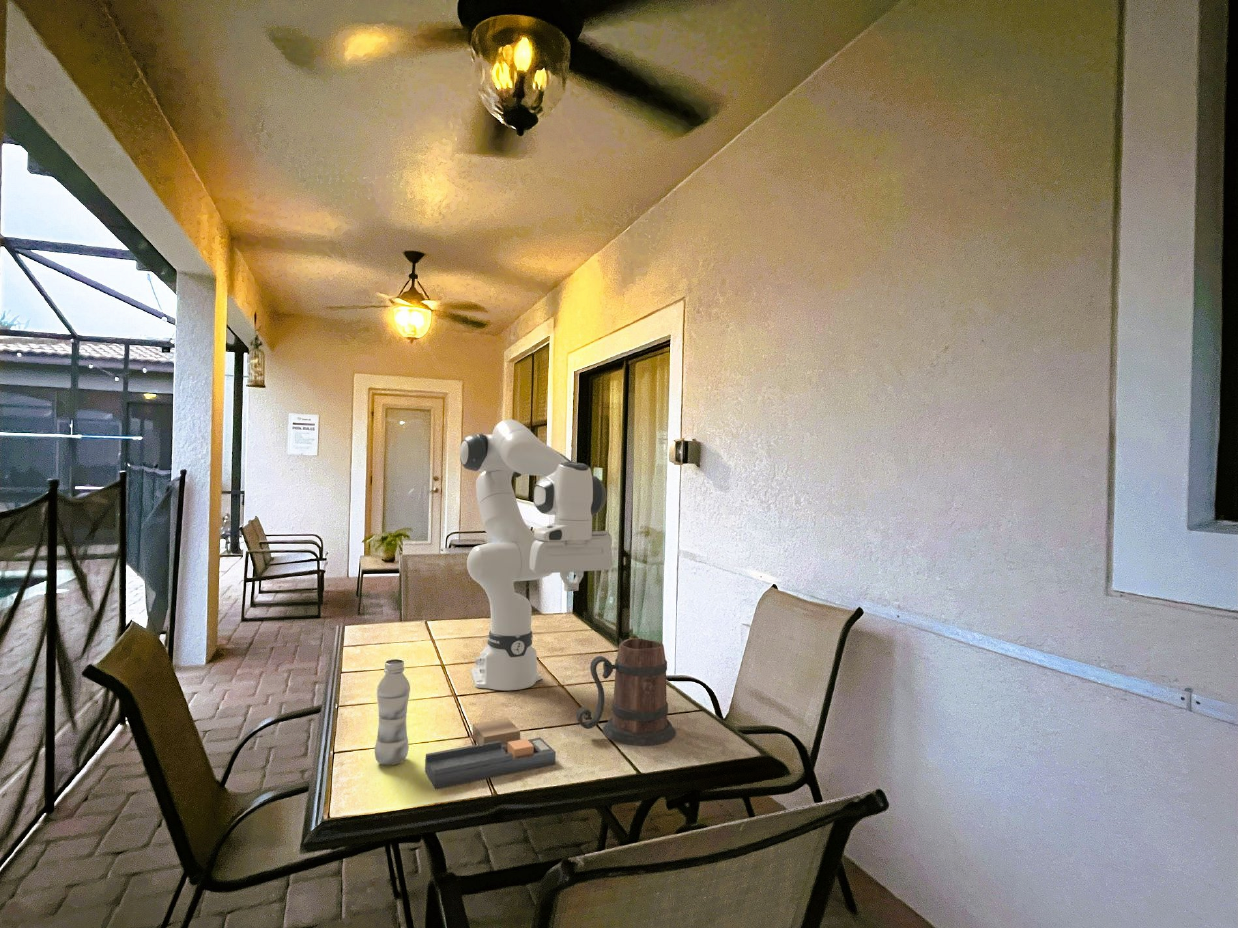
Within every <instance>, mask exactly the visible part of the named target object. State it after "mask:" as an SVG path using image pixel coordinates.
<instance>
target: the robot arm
mask: <svg viewBox="0 0 1238 928" xmlns="http://www.w3.org/2000/svg"><path fill="white" fill-rule="evenodd" d="M459 446H460V447H459V453H458V454H459V460H460V464H461V465H462V466H463V468H465V470H469V471H473V472H478V471H479V472H481V473H480V474H479V475H478V477H477V478H476V481H475V492H476V493H475V494H476V501H477V505H478V506H477V507H478V510H479V514H480V518H481V522H482V527H483V530H484V531H485V533H486V534H487V535H488V536H489V537H491V538H493V539H494V540H497V541H498V542H497V541H495V542H494V541H492V542H488V543H484V544H479V545H476V546H474V547H472V549H471V550H470V552H468V553H469V554H468V555H467V559H466V569H467V571H468V575H469V576H470V577H471V579H472V580H473V581H474V582H476V583H477V584H479V585H480V587H481V588H482V589H483V590H484V592H485V594H486V596H487V598H488V601H489V608H490V630H489V633H488V636H487V645H486V646H485V647H484V649H483V650H481V651H480V653H479V656H476V657H475V667H473V668H471V670H470V674H471V676H472V679H473V682H474V685H475V687H476V688H478V689H479V688H481V689H491V690H496V691H517V690H524V689H527V688H530V687H533V685H535V684H536V682H538V681H539V680H540V681H541V680H542V675H541V674H540V673H539V672H538V660H537V658H538V657H537V650H536V649H535V648H534V647H533V637H534V636H533V631H532V611H533V609H532V604H531V602H530V600H529V599H528V598H527V597H526V596H524V595H522V594H520V593H517V592H516V591H515V588H514V587H515V584H514V583H516V582H522V581H524V582H525V581H535V580H540V579H543V578H546V577H549V576H552V574H553V573H554V574H555V573H559V577H560V579H561V580H562V582H563V584H564V586H563V589H564V591H565V592H576V591H579V586H580V585H579V584H580V583H581V581H582V579H583V578H584V572H588V571H589V572H590V571H591V572H592V571H609V570H611V569H612V567H613V563H614V562H613V561H614V560H613V559H614V558H613V551H612V546H613V545H612V544H613V537H612V535H611V533H609V532H607V530H601V531H600V530H593V516H595V515H596V514H598V513H599V512H600V511H601V510H602V508H603V507H604V506H605V503H606V502H607V491H606V488H605V486H604V484H603V483H602V480H601V479H600V478H598V476H596V475H592V470H591V467H590V466H589V465H587V464H585V463H581V462H576V461H571V459H569V458H568V457H566V456H565V455H564V454H562V453H560V452H559V451H557V450H555V449H554V448H552V447H551V446H549V445H547V444H546V443H545V442H543V441H542V440H541V439H539V438H538V437H537V436H536V435H535V434H534V433H533V431H531V430H530V429H529V428H528V427H526V425H524V424H523V423H521V422H519V421H517V420H515V419H511V418H510V419H509V418H508V419H505V420H504V419H503V420H502V421H500V422H498V423H497V424H496V425H495V427H494V429H493V431H492V433H491V434H488V433H487V434H484V433H475V434H471V435H467V436H466V437H464V439H463V440H461V442H460V445H459ZM522 475H526V476H527V475H528V476H537V477H541V478H539V479H538V480H537V481H536V483H535V484H534V486H533V490H532V501H533V505H534V506H535V508H536V509H537V510H538V511H539V512H540V513H541V514H544V515H549V516H552V515H553V516H554V518H553V519H554V522H553V523H551V524H548V525H545V526H542V527H540V528H537V529H535V530H534V532H533V531H532V530H531V529H530V527H529V526H528V525H527V524H526V521H524V518H523V516H522V514H521V511H520V507H519V505H518V502H517V497H516V494H515V491H514V489H513V485H512V479H513V477H514V478H516V479H519V478H521V476H522ZM573 572H574V573H573ZM570 573H573V575H575V576H574V580H573V581H572V582H570V581H569V579H568V577H570Z"/></svg>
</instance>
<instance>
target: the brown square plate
mask: <svg viewBox="0 0 1238 928" xmlns="http://www.w3.org/2000/svg"><path fill="white" fill-rule="evenodd" d="M472 739H473V740H474V741H475V743H476V745H478V744H483V743H489V742H494V741H501V745H502V744H508V742H511V741H516V740H521V729H519V728H518V727H517V726H516V725H515V723H513V721H512V720H510V719H509V718H508V717H507V718H500V719H494V720H487V721H482V722H475V723H472Z"/></svg>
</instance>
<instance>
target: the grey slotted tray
mask: <svg viewBox="0 0 1238 928" xmlns="http://www.w3.org/2000/svg"><path fill="white" fill-rule="evenodd" d="M527 740H528V741H529V742H530V743H531V744H532V745H533V746H534V751H533V754H529V755H524V756H519V757H513V754H512V753H509V754H507V753H508V744H502V745H501V741H494V742H489V743H483V744H473V745H467V746H462V747H457V748H450V749H447V750H441V751H434V752H428V753H426V754H425V760H424V772H425V774H426V776H427V778H428V780H429V782H430V783H431V785H432V787H433V789H434V790H439V789H444V788H449V787H454V786H458V785H463V784H467V783H473V782H478V781H483V780H487V779H491V778H497V777H501V776H507V775H511V774H517V773H521V772H525V771H530V770H535V769H540V768H545V767H549V766H554V765H556V753H557V752H556V750H554V749H553V748H552V747H551V746H550V745H549V744H548V743H547V742H546V741H545V740H544V739H542V738H541V737H535V738H529V739H527Z"/></svg>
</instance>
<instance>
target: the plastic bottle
mask: <svg viewBox="0 0 1238 928" xmlns="http://www.w3.org/2000/svg"><path fill="white" fill-rule="evenodd" d="M404 666H405V661H404V660H403V659H401V658H400V659H399V658H397V659H396V658H393V659H388V660H386V661H385V662H384V668H383V671H384V673H385V674H384V675H383V677H382V678H381V679H380V682H379V683H378V685H377V688H376V698H377V707H378V708H377V709H378V728H377V737H376V741H375V746H374V756H375V757H374V758H375V760H376V761H377V763H378V764H379V765H382V766H395V765H398V764H400V763H402V762H404V761H405V759H407V756H408V753H409V749H410V748H409V747H410V746H409V739H408V732H407V730H408V729H407V727H408V726H407V714H408V704H409V703H408V702H409V699H410V693H411V685H410V682H409V680H408V678H407V677H406V676H405V674H404V673H403V672H404V671H405V667H404Z"/></svg>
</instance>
